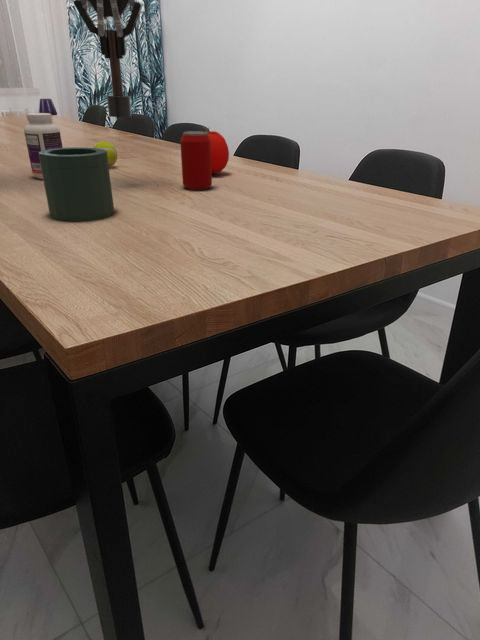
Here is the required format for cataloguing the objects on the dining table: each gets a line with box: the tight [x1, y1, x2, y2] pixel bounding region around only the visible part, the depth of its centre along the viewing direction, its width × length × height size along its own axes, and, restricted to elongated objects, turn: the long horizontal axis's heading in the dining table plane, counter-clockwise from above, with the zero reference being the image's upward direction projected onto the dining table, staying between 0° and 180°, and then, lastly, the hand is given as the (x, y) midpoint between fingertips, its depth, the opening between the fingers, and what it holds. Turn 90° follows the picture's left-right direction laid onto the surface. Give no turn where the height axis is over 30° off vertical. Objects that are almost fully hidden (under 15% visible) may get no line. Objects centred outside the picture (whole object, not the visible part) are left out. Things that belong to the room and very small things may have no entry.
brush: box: [106, 29, 132, 118], centre depth 107 cm, size 5×5×16 cm
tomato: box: [201, 127, 230, 174], centre depth 131 cm, size 12×12×11 cm
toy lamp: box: [38, 98, 58, 123], centre depth 140 cm, size 5×5×17 cm
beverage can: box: [179, 130, 213, 191], centre depth 115 cm, size 7×7×12 cm
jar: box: [38, 146, 115, 222], centre depth 92 cm, size 11×11×11 cm
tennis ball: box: [93, 141, 118, 168], centre depth 138 cm, size 7×7×7 cm
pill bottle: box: [23, 112, 64, 180], centre depth 122 cm, size 8×8×14 cm
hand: (114, 58), depth 105 cm, fingers closed on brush
